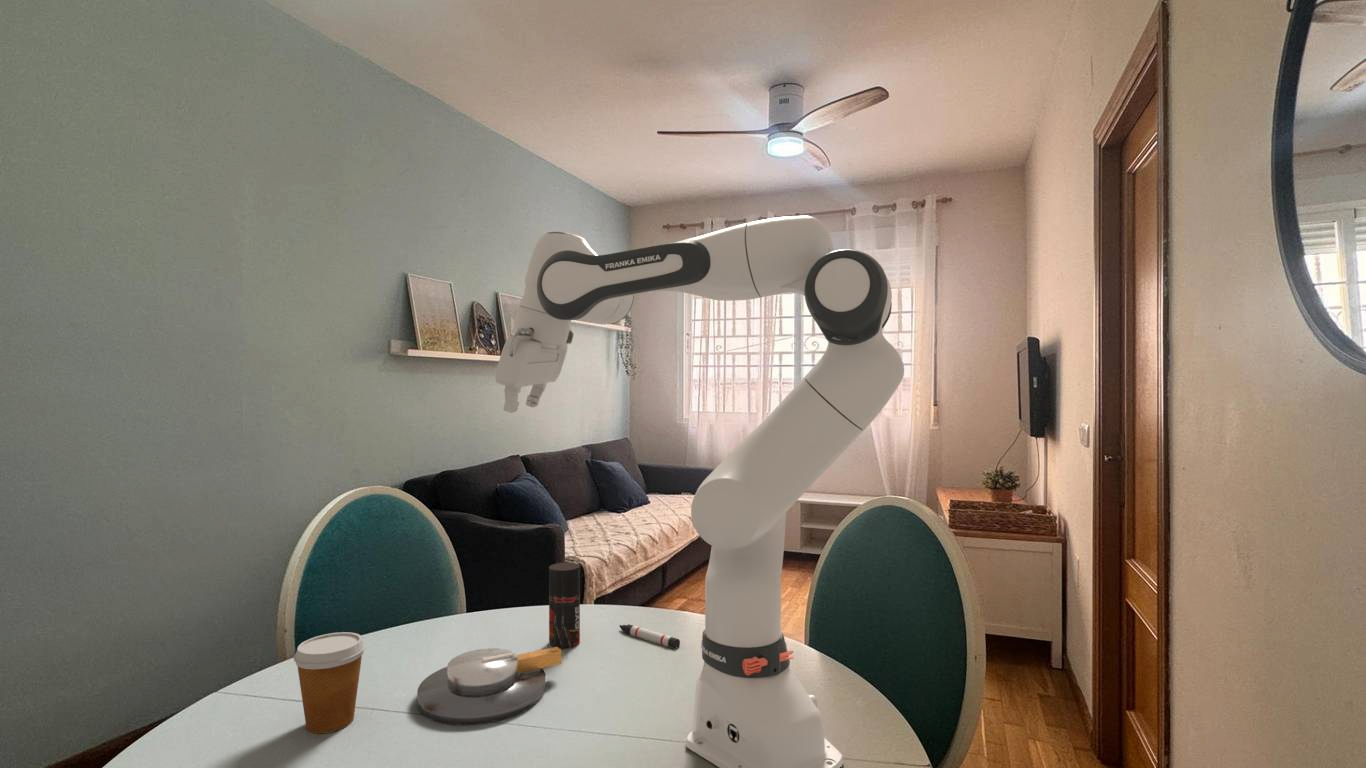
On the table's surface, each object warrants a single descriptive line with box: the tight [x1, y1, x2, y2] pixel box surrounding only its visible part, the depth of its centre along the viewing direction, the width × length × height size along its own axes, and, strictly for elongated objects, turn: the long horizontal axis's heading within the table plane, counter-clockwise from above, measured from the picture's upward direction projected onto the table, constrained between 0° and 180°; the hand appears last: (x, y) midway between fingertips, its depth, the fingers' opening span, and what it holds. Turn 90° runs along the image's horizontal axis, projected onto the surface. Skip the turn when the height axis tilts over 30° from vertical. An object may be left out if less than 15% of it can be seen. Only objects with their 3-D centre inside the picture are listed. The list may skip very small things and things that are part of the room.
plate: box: [416, 666, 546, 726], centre depth 109 cm, size 20×20×2 cm
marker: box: [619, 623, 681, 649], centre depth 133 cm, size 15×2×2 cm, turn 52°
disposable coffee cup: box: [293, 631, 367, 734], centre depth 99 cm, size 10×10×12 cm
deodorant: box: [548, 562, 581, 650], centre depth 130 cm, size 6×6×15 cm
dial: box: [446, 647, 563, 696], centre depth 111 cm, size 18×11×3 cm, turn 120°
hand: (521, 408), depth 111 cm, fingers open, 8 cm apart
